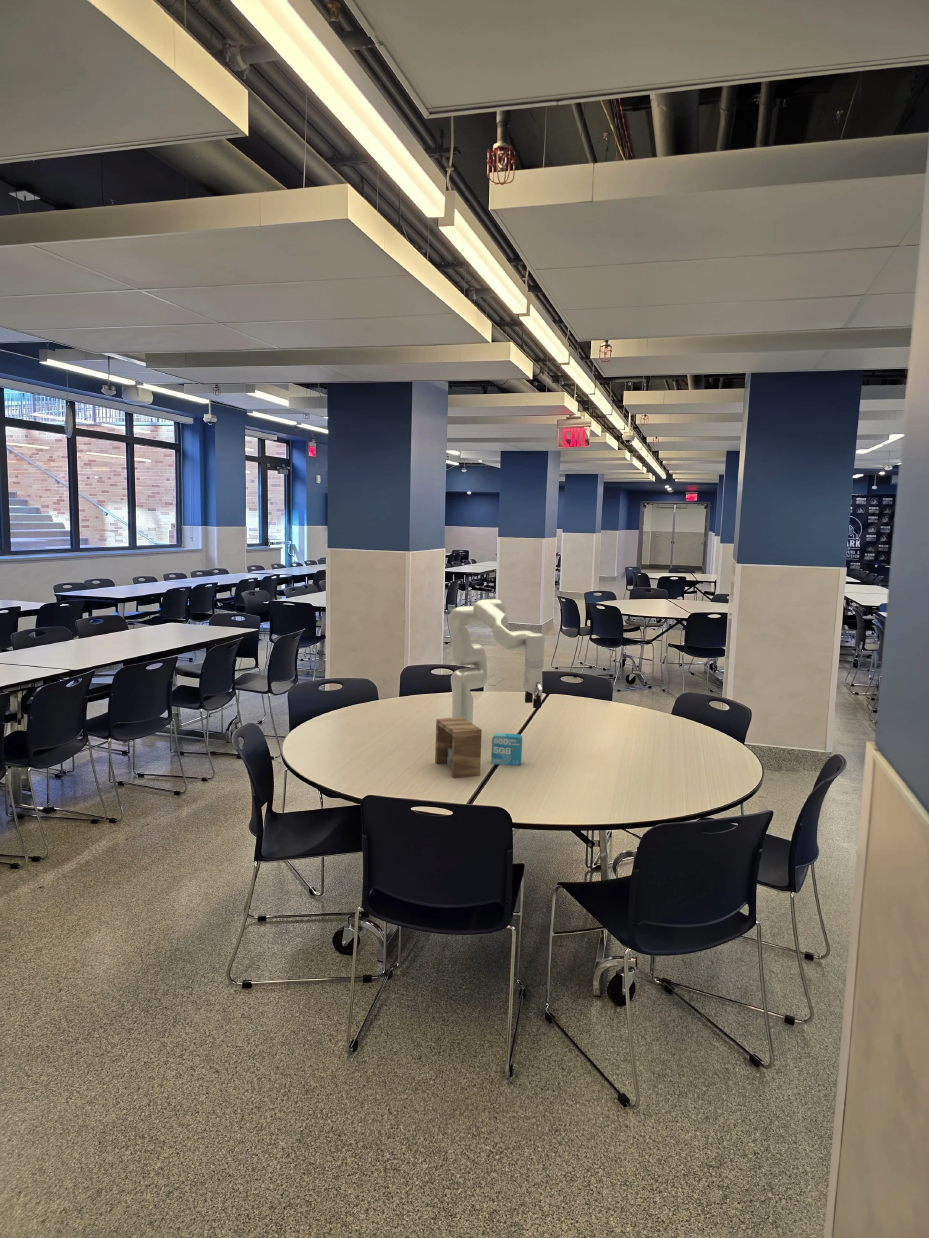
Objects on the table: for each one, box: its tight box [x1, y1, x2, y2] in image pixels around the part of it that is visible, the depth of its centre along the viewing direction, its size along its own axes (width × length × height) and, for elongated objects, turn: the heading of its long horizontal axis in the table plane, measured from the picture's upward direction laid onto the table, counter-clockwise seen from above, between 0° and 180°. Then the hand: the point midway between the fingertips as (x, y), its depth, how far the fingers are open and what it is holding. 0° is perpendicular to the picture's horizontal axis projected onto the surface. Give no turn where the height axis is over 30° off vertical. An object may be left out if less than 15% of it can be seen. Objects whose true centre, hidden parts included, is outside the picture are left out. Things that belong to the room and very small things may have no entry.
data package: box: [490, 732, 523, 766], centre depth 298 cm, size 12×4×12 cm, turn 82°
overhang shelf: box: [434, 717, 483, 779], centre depth 289 cm, size 20×11×18 cm, turn 23°
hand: (532, 705), depth 298 cm, fingers open, 9 cm apart
